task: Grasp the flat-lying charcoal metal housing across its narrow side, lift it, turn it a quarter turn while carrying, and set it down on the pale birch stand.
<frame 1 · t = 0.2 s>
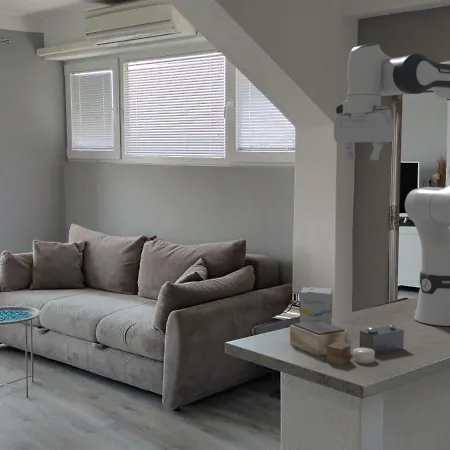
hand: (362, 159, 184), 47 cm above the worktop, fingers open, 8 cm apart
white egg shape: (363, 360, 166), on the worktop
stand: (318, 347, 177), on the worktop
walnut block: (338, 362, 165), on the worktop
ink box: (315, 332, 192), on the worktop
housing: (381, 349, 175), on the worktop
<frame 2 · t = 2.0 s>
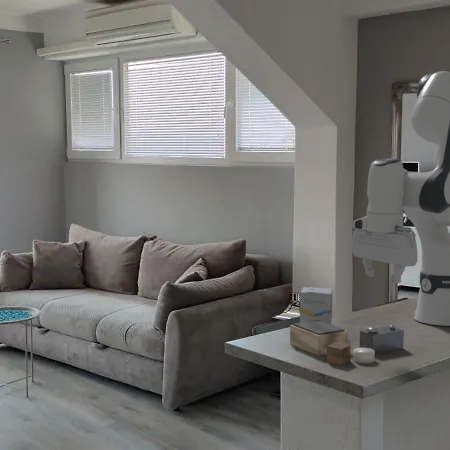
hand: (382, 279, 173), 18 cm above the worktop, fingers open, 8 cm apart
nothing on the worktop moved.
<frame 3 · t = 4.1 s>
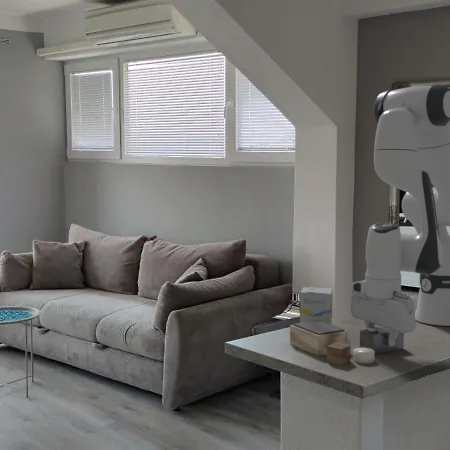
hand: (381, 342, 175), 2 cm above the worktop, fingers closed on housing, 5 cm apart
housing: (381, 349, 175), on the worktop, touching gripper
everything else where it was.
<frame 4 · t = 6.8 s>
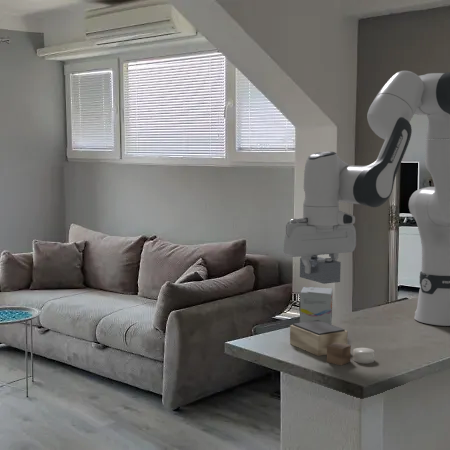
hand: (319, 272, 174), 19 cm above the worktop, fingers closed on housing, 5 cm apart
housing: (319, 279, 175), point 18 cm above the worktop, touching gripper
everything else where it was.
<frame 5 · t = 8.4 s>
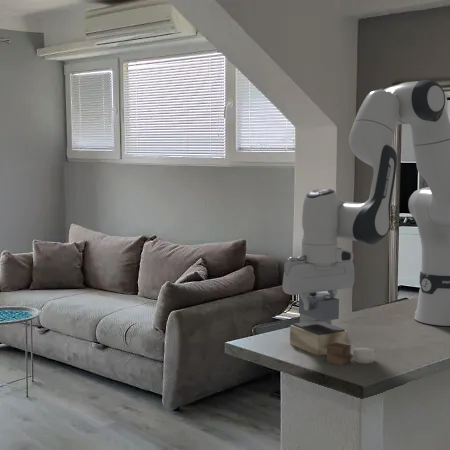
hand: (318, 308, 176), 10 cm above the worktop, fingers closed on housing, 5 cm apart
housing: (318, 315, 176), point 8 cm above the worktop, touching gripper
everything else where it was.
when the fingers open (9 cm above the worktop, at t = 9.4 s): housing drops 2 cm, resting on stand.
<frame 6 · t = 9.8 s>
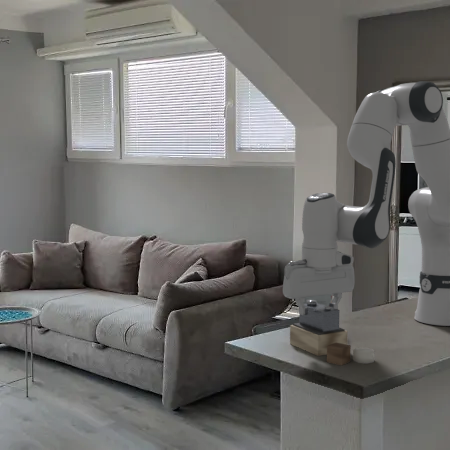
hand: (318, 312, 176), 9 cm above the worktop, fingers open, 8 cm apart
housing: (318, 326, 176), point 5 cm above the worktop, touching stand
everything else where it was.
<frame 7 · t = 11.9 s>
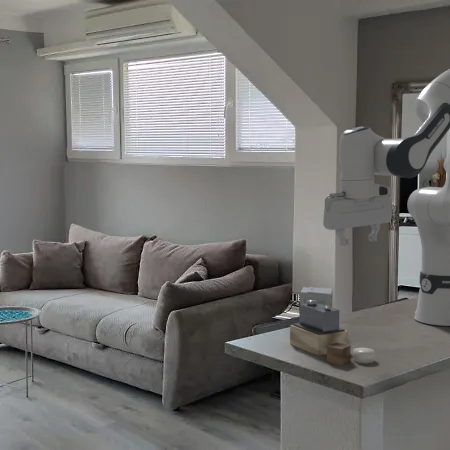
hand: (358, 243, 181), 26 cm above the worktop, fingers open, 8 cm apart
nothing on the worktop moved.
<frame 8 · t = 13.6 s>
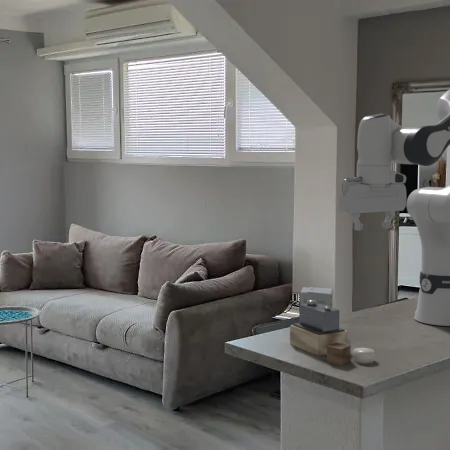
hand: (372, 229, 183), 29 cm above the worktop, fingers open, 8 cm apart
nothing on the worktop moved.
at the end: housing inside the target area on the stand (0.1 cm from its centre), point 5.4 cm above the stand's base; housing tilted 0°; the gripper is holding nothing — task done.
